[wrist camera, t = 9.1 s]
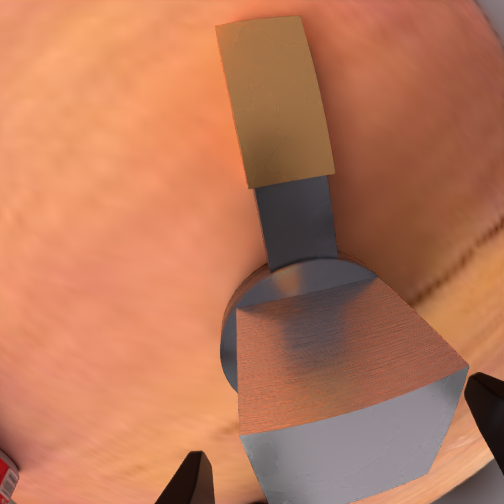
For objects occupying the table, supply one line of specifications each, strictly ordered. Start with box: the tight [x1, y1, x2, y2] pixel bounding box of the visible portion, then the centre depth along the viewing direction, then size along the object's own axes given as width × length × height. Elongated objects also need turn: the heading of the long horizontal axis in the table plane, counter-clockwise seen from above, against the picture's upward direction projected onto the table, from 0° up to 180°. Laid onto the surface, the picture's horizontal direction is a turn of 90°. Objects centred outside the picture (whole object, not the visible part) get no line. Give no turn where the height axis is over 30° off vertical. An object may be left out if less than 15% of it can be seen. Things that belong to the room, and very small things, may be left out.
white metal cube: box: [236, 276, 469, 504], centre depth 9 cm, size 6×6×6 cm
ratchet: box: [215, 16, 386, 393], centre depth 10 cm, size 17×8×4 cm, turn 11°
